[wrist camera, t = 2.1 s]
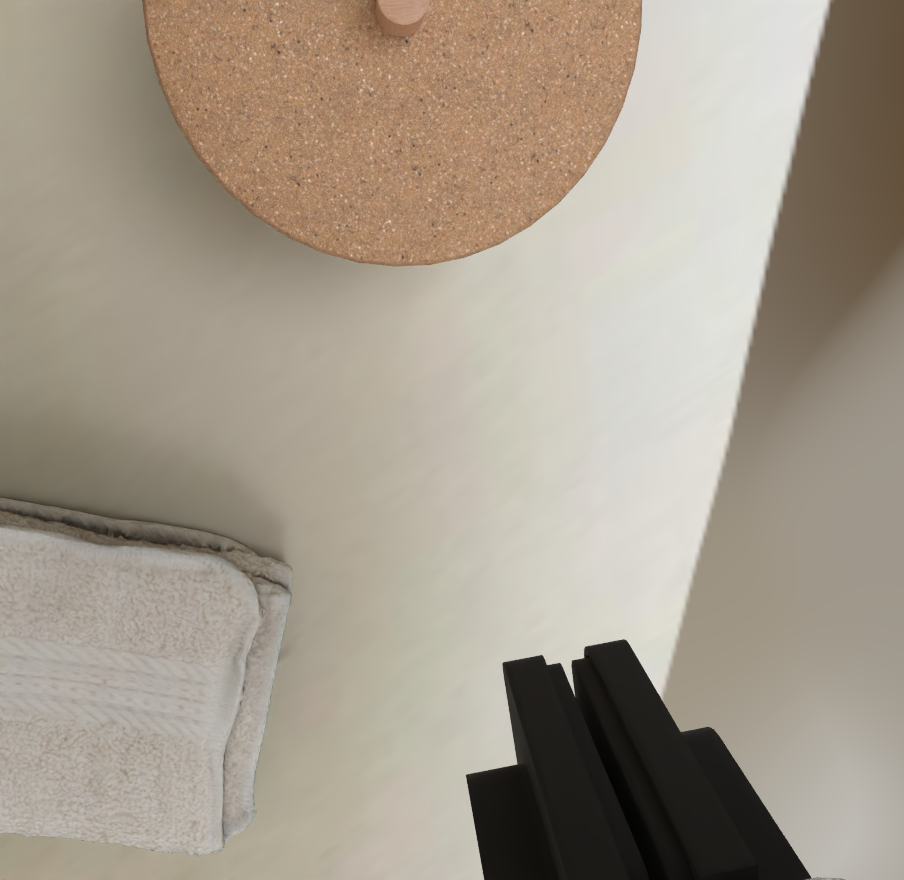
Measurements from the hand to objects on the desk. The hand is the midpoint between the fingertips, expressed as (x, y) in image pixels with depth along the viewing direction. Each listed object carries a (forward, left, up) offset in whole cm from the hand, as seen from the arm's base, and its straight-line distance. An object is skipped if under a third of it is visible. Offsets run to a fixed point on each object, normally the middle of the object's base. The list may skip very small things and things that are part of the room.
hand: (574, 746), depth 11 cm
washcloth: (+6, -16, -19) cm, 25 cm away
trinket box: (-11, 0, -19) cm, 21 cm away
